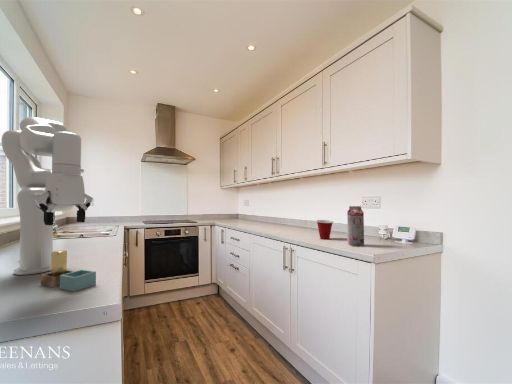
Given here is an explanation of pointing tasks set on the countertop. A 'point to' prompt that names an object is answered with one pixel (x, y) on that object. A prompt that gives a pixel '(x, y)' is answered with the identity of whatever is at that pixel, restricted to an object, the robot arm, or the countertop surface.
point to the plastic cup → (324, 228)
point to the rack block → (77, 280)
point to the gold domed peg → (58, 263)
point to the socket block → (51, 280)
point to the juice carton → (355, 226)
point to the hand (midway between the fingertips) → (65, 223)
